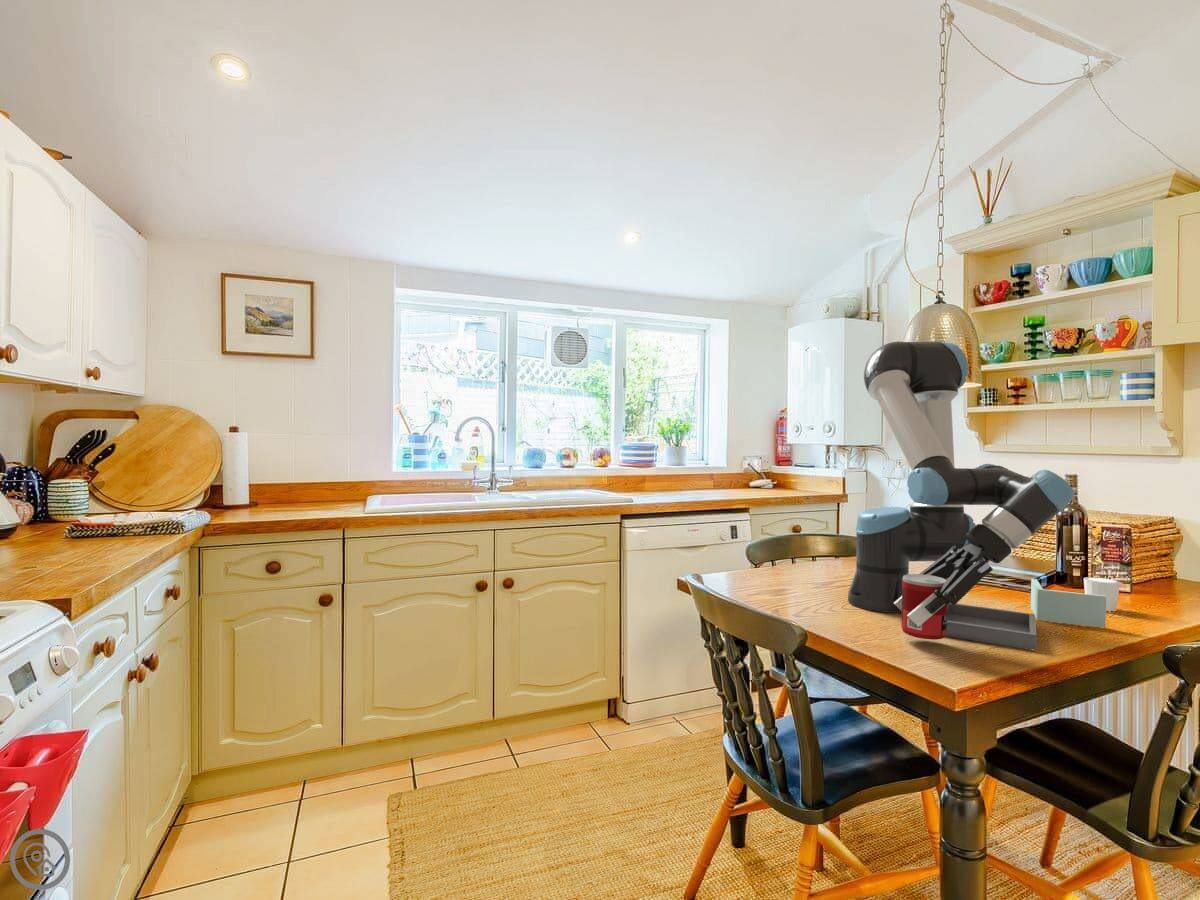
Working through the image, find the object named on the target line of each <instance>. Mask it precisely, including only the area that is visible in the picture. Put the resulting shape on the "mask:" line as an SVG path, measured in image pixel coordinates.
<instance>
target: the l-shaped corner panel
mask: <svg viewBox="0 0 1200 900" xmlns="http://www.w3.org/2000/svg"><path fill="white" fill-rule="evenodd" d="M1030 585H1031V586H1030V609H1031V611H1032V610H1033V611H1032V613H1033V612H1034V613H1033V614H1035V616H1036V617H1035V619H1036V618H1037V619H1036V621H1037V620H1042V621H1041V622H1045V621H1050V622H1049V623H1053V622H1059V623H1058V624H1062V623H1067V624H1066V625H1070V624H1077V625H1076V626H1078V625H1085V626H1084V627H1086V626H1095V627H1104V628H1105V629H1106V626H1107V625H1106V623H1107V612H1106V596H1104V595H1094V594H1085V592H1084V593H1082V592H1072V591H1063V590H1062V591H1061V590H1056V589H1055V590H1054V589H1046V588H1043V587H1042V585H1041V584H1040V582H1039V581H1038V579H1037V578H1031V581H1030Z"/></svg>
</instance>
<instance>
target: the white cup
mask: <svg viewBox="0 0 1200 900" xmlns="http://www.w3.org/2000/svg"><path fill="white" fill-rule="evenodd" d="M1120 585H1121V582H1120V581H1119V580H1116V579H1110V578H1106V577H1098V576H1097V577H1094V576H1087V577H1083V587H1084V594H1094V595H1104V596H1106V611H1116V612H1117V606H1118V600H1119V599H1118V598H1119V591H1120V588H1121V587H1120Z"/></svg>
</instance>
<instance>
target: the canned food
mask: <svg viewBox="0 0 1200 900" xmlns="http://www.w3.org/2000/svg"><path fill="white" fill-rule="evenodd" d="M947 580H948V579H944V578H941V577H937V576H931V575H923V574H920V573H911V574H908V575H904V576H903V579H902V612H901V620H900V622H901V623H900V624H901V629H902V632H903V634H905V635H908V636H910V637H913V638H917V639H923V640H930V641H931V640H942V639H944V638H945V637H946V636H945V635H946V633H947V608H948V604H945V605H944V606H943V607H941V608H940V609H939V610H938V611H937V612H935V613H934V614H933V615H932V616H931V617H930V618H928V619H927V620H926V621H925V622H924V623H923V624H921V625H920V626H919V627H918V626H917V625H916V624H915V623H914V622H913V621H912V620H911V619H910V618H909V617H908V616H907V615H908V614H909V613H910V612H911V611H913V610H914V609H915V608H916V607H917V606H918V605H920V604H921V603H922V602H923V601H924V600H925V599H926V598H928V597H929V596H930V595H931V594H932V593H934V592H933V591H934V590H940V588H941V587H942V586H943V585H944V583H945V582H946V581H947ZM934 594H935V593H934ZM935 595H936V594H935ZM936 596H937V595H936Z"/></svg>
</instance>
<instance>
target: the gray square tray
mask: <svg viewBox="0 0 1200 900" xmlns="http://www.w3.org/2000/svg"><path fill="white" fill-rule="evenodd" d="M1036 625H1037V624H1036V617H1035V614H1034V613H1028V612H1021V611H1014V610H1006V609H1000V608H998V609H997V608H990V607H986V606H985V607H983V606H977V605H969V604H961V603H956V604H955V605H952V604H951V603H949V604H948V608H947V633H946V635H945V637H950V638H956V639H963V640H967V641H974V642H981V643H986V644H987V643H988V644H993V645H999V646H1005V647H1011V648H1016V647H1018V648H1017V649H1023V648H1027V649H1026V650H1029V649H1034V650H1033V651H1035V650H1036V651H1037V628H1036V627H1037V626H1036Z"/></svg>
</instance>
